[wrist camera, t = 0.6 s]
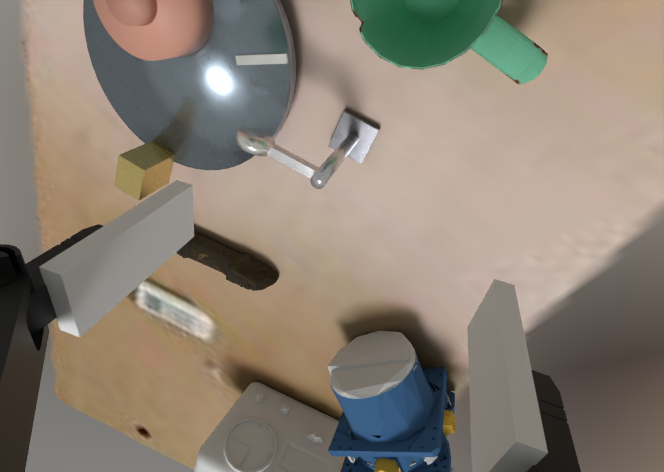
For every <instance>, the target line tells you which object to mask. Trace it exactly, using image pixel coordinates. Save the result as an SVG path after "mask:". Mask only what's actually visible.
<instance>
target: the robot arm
mask: <svg viewBox="0 0 664 472" xmlns="http://www.w3.org/2000/svg"><path fill="white" fill-rule="evenodd" d="M193 237H194V215H193V187H192V185H191V184H187V183H184V182H181V181H178V180H176V181H175V182H173V183H172V184H170V185H168V186H167V187H165V188H164V189H162V190H160V191H159V192H157V193H156V194H154V195H152V196H151V197H149V198H148V199H146V200H145V201H143V202H141V203H140V204H138V205H137V206H135V207H133V208H132V209H130V210H129V211H127V212H125V213H124V214H122V215H121V216H119V217H117V218H116V219H114V220H113V221H111V222H110V223H108V224H106V225H105V226H102V225H99V224H98V225H95V226H92V227H89V228H86V229H83V230H81V231H80V232H78V233H76V234H75V235H73V236H71V238H70V239H69V238H68V239H66V240H65V241H63V242H61V244H60V245H56V246H55V247H53V248H51V249H50V250H48V251H46V252H45V253H43V254H42V255H40V256H38V257H37V258H35V259H33V260H32V261H30V262H28V263H27V264H25V262H24V259H23V257H22V254H21V251H20V250H19V249H18V248H17V247H15V246H11V245H0V472H25V467H26V461H27V455H28V450H29V444H30V438H31V432H32V426H33V421H34V415H35V409H36V403H37V398H38V392H39V386H40V380H41V374H42V369H43V363H44V357H45V352H46V346H47V340H48V334H49V329H48V325H47V324H49V323H50V322H51V321H52V320H54V319H55V318H56V319H57V322H58V324H59V327H60V330H62V331H65V332H67V333H70V334H73V335H75V336H78V337H81V336H82V335H83V334H84V333H85V332H86V331H88V330H89V329H90V328H91V327H92V326H93V325H94V324H96V323H97V322H98V321H99V320H100V319H101V318H102V317H103V316H105V315H106V314H107V313H108V312H109V311H110V310H111V309H113V308H114V307H115V306H116V305H117V304H118V303H119V302H120V301H122V300H123V299H124V298H125V297H126V296H127V295H128V294H129V293H131V292H132V291H133V290H134V289H135V288H136V287H137V286H139V285H140V284H141V283H142V282H143V281H144V280H145V279H146V278H148V277H149V276H150V275H151V274H152V273H153V272H154V271H156V270H157V269H158V268H159V267H160V266H161V265H162V264H163V263H165V262H166V261H167V260H168V259H169V258H170V257H171V256H173V255H174V254H175V253H176V252H177V251H178V250H179V249H180V248H182V247H183V246H184V245H185V244H186V243H187V242H188V241H189V240H191V239H192V238H193ZM468 352H469V384H470V416H471V449H472V472H581V471H580V467H579V464H578V460H577V456H576V452H575V448H574V444H573V440H572V437H571V433H570V429H569V425H568V423H567V418H566V414H565V411H564V410H563V408H564V406H563V402H562V399H561V395H560V392H559V390H558V388H557V387H556V385H555V384H554V382H553V381H552V379H551V378H550V376H548V375H544V374H542V373H539V372H536V371H533V370H531V366H530V361H529V356H528V351H527V346H526V341H525V336H524V331H523V326H522V321H521V316H520V311H519V306H518V301H517V296H516V291H515V286H514V285H512V284H509V283H505V282H502V281H499V280H496V279H494V281H493V283H492V284H491V286H490V288H489V290H488V292H487V293H486V295H485V297H484V299H483V300H482V302H481V304H480V306H479V308H478V309H477V311H476V313H475V315H474V317H473V318H472V320H471V322H470V324H469V325H468Z"/></svg>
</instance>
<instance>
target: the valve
mask: <svg viewBox="0 0 664 472" xmlns="http://www.w3.org/2000/svg"><path fill="white" fill-rule="evenodd" d="M328 369H329V372H330V376H331V388H332V390H333V392H334V394H335V396H336V398H337V400H338V401H339V403H340V405H341V407H342V409H343V413H342V416H341V418H340V421H339V423H338V426H337V428H336V431H335V433H334V436H333V439H332V441H331V444H330V446H329V449H328V452H329V453H330V455H331V456H332V457H345V460H344V463H343V466H342V469H341V472H450V468H451V455H450V448H449V442H448V440H447V434H449V433H454V432H455V430H456V425H455V417H454V415H453V414H454V404H455V393H453V392H451V391H446V388H447V377H448V375H447V372H446V370H445V367H441V368H430V369H422V368H421V365H420V362H419V360H418V357H417V354H416V352H415V349H414V348H413V346H412V344H411V343H410V342H409V341H408V339H407V338H406V337H405V336H404V335H403V334H402V333H401V332H392V331H377V332H373V333H369V334H366V335H362V336H359V337H356V338H355V339H354V340H353V341H351V342H350V343H349V344H347V345H346V346H345V347H344V348H342V349H341V350H340V351H339V352H338V353H337V354H336V356H335V357H334V358H333V360H332V361H331V362H330V364H329V365H328Z"/></svg>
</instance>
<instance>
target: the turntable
mask: <svg viewBox="0 0 664 472" xmlns="http://www.w3.org/2000/svg"><path fill="white" fill-rule="evenodd" d="M83 19H84V29H85V37H86V42H87V47H88V51H89V55H90V58H91V62H92V65H93V68H94V70H95V73H96V76H97V78H98V81H99V83H100V85H101V87H102V89H103V91H104V93H105V95H106V96H107V98H108V100H109V101H110V103H111V105H112V106H113V108H114V109H115V111H116V112H117V114H118V115H119V116H120V118H121V119H122V120H123V121H124V123H125V124H126V125H127V126H128V127H129V128H130V130H131V131H132V132H133V133H134V134H135V135H136V136H137V137H138V138H139V139H140V140H142V141H143V142H144V143H145V144H144V145H142V146H139V147H137V148H135V149H132V150H130V151H128V152H125V153H123V154H121V155H119V158H118V165H117V172H116V179H115V187H117V188H119V189H120V190H122V191H124V192H125V193H127V194H129V195H130V196H132V197H134V198H136V199H137V200H141V199H142V198H144V197H146V196H147V195H149V194H151V193H152V192H154V191H156V190H157V189H159V188H161V187H163V186H164V185H166V184H168V183H169V179H170V174H171V170H172V166H173V162H176V163H179V164H181V165H184V166H187V167H191V168H195V169H202V170H220V169H226V168H231V167H234V166H236V165H239V164H241V163H243V162H245V161H247V160H249V159H250V158H252V157H253V156H255V155H253V154H250V153H248V152H246V151H244V150H242V149H241V148H240V147H239V146H238V145H237V144H236V142H235V139H236V136H237V132H238V129H239V128H241V127H253V128H257V129H260V130H262V131H264V132H266V133H268V134H269V135H270V136H271V137H272V138H273V139H274V138H275V137H276V135H277V134H278V133H279V131H280V130H281V128H282V126H283V124H284V122H285V120H286V118H287V116H288V114H289V111H290V108H291V105H292V101H293V96H294V91H295V82H296V55H295V49H294V42H293V37H292V33H291V29H290V25H289V21H288V19H287V16H286V13H285V11H284V8H283V6H282V3H281V1H280V0H213V23H212V28H211V31H210V34H209V36H208V38H207V40H206V42H205V43H204V45H203V46H202V47H201V48H200V49H199V50H197V51H196V52H194V53H193V54H190V55H187V56H182V57H175V58H169V59H163V60H156V61H148V60H143V59H140V58H137V57H135V56H133V55H131V54H130V53H128V52H127V51H125V50H124V49H123V48H121V47H120V46H119V45H118V44H117V43H116V42H115V41H114V40H113V38H112V37H111V36H110V35H109V33H108V32H107V30H106V29H105V27H104V26H103V24H102V22H101V20H100V18H99V16H98V14H97V11H96V8H95V6H94V2H93V0H84V12H83Z"/></svg>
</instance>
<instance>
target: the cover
mask: <svg viewBox="0 0 664 472" xmlns="http://www.w3.org/2000/svg"><path fill="white" fill-rule="evenodd" d="M93 2H94V6H95V8H96V11H97V14H98V16H99V18H100V20H101V22H102V24H103V26H104V27H105V29H106V30H107V32H108V33H109V35H110V36H111V37H112V38H113V40H114V41H115V42H116V43H117V44H118V45H119V46H120V47H121V48H123V49H124V50H125V51H127V52H128V53H130V54H131V55H133V56H135V57H137V58H140V59H143V60H148V61H156V60H163V59H169V58H175V57H182V56H187V55H190V54H193V53H194V52H196V51H197V50H199V49H200V48H201V47H202V46H203V45H204V43H205V42H206V40H207V38H208V36H209V34H210V31H211V28H212V23H213V0H93Z"/></svg>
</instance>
